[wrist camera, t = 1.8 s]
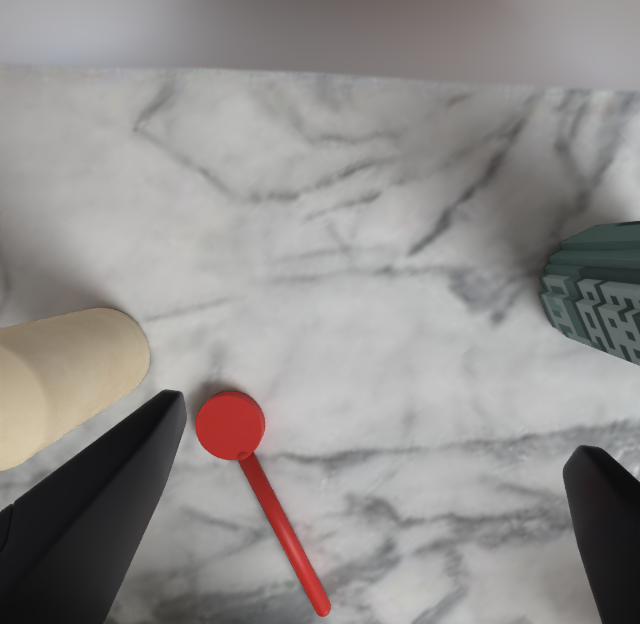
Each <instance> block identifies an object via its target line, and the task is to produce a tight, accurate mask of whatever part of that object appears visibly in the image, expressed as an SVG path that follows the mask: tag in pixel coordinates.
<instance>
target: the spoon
mask: <svg viewBox="0 0 640 624" xmlns="http://www.w3.org/2000/svg"><path fill="white" fill-rule="evenodd" d="M195 427H196V434H197V437H198V439H199V441H200V443H201V445H202V446H203V447H204V448H205V449H206V450H207V451H208V452H209V453H211V454H212V455H214V456H216V457H218V458H221V459H226V460H236V459H237V460H238V462H239V464H240V466H241V468H242V470H243V472H244V473H245V475H246V477H247V479H248V481H249V483H250V485H251V487H252V489H253V491H254V493H255V495H256V497H257V499H258V501H259V503H260V505H261V506H262V508H263V510H264V512H265V514H266V516H267V518H268V520H269V522H270V524H271V526H272V528H273V530H274V532H275V534H276V536H277V537H278V539H279V541H280V543H281V545H282V547H283V549H284V551H285V553H286V555H287V557H288V559H289V561H290V563H291V565H292V567H293V568H294V570H295V572H296V574H297V576H298V578H299V580H300V582H301V584H302V586H303V588H304V590H305V592H306V594H307V596H308V598H309V599H310V601H311V603H312V605H313V607H314V609H315V611H316V613H317V614H318V615H319V616H321V617H325V616H327V615H328V614H329V612H330V609H331V604H330V602H329V600H328V598H327V596H326V594H325V592H324V590H323V588H322V586H321V584H320V582H319V580H318V578H317V576H316V574H315V572H314V570H313V568H312V566H311V564H310V562H309V560H308V558H307V556H306V554H305V553H304V551H303V549H302V547H301V545H300V543H299V541H298V539H297V537H296V535H295V533H294V531H293V529H292V527H291V525H290V523H289V521H288V519H287V517H286V515H285V513H284V511H283V509H282V507H281V505H280V503H279V502H278V500H277V498H276V496H275V494H274V492H273V490H272V488H271V486H270V484H269V482H268V480H267V478H266V476H265V474H264V472H263V470H262V468H261V466H260V464H259V462H258V460H257V458H256V456H255V454H254V452H253V451H254V450H255V449H256V448H257V447H258V445H259V443H260V441H261V439H262V437H263V434H264V431H265V418H264V415H263V412H262V410H261V408H260V406H259V405H258V404H257V403H256V402H255V401H254V400H253V399H252V398H251V397H249V396H247V395H246V394H243V393H240V392H236V391H225V392H221V393H218V394H216V395H214V396H212V397H211V398H210V399H209V400H208V401H207V402H206V403H205V404H204V405H203V406H202V407H201V409H200V410H199V412H198V414H197V418H196V423H195Z"/></svg>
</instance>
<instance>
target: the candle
mask: <svg viewBox="0 0 640 624" xmlns="http://www.w3.org/2000/svg"><path fill="white" fill-rule="evenodd" d="M149 363H150V349H149V344H148V341H147V338H146V336H145V334H144V332H143V331H142V329H141V328H140V326H139V325H138V324H137V323H136V322H135V321H134V320H133V319H131V318H130V317H129V316H127V315H126V314H124V313H122V312H120V311H117V310H114V309H109V308H92V309H86V310H81V311H77V312H72V313H68V314H63V315H59V316H54V317H50V318H46V319H41V320H37V321H32V322H28V323H23V324H19V325H14V326H10V327H6V328H1V329H0V471H3V470H7V469H10V468H13V467H15V466H17V465H19V464H21V463H23V462H24V461H26V460H27V459H29V458H30V457H32V456H33V455H35V454H36V453H38V452H39V451H41V450H42V449H44V448H46V447H47V446H49V445H50V444H52V443H53V442H55V441H56V440H58V439H59V438H61V437H62V436H64V435H65V434H67V433H69V432H70V431H72V430H73V429H75V428H76V427H78V426H79V425H81V424H82V423H84V422H85V421H87V420H88V419H90V418H91V417H93V416H95V415H96V414H98V413H99V412H101V411H102V410H104V409H105V408H107V407H108V406H110V405H111V404H113V403H114V402H116V401H117V400H119V399H121V398H122V397H124V396H125V395H126V394H128V393H129V392H131V391H132V390H134V389H135V388H136V387H137V386H138V385H139V384H140V382H141V381H142V380H143V378H144V377H145V375H146V373H147V371H148V367H149Z"/></svg>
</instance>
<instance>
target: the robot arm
mask: <svg viewBox="0 0 640 624" xmlns="http://www.w3.org/2000/svg"><path fill="white" fill-rule="evenodd" d="M186 420H187V413H186V408H185V402H184V396H183V394H182V392H180V391H175V390H163V391H161V392H160V393H158V394H157V395H156V396H154V397H153V398H152V399H150V400H149V401H148V402H146V403H145V404H144V405H142V406H141V407H140V408H138V409H137V410H136V411H134V412H133V413H132V414H130V415H129V416H128V417H126V418H125V419H124V420H122V421H121V422H120V423H118V424H117V425H116V426H114V427H113V428H112V429H110V430H109V431H108V432H106V433H105V434H104V435H102V436H101V437H100V438H98V439H97V440H96V441H94V442H93V443H92V444H90V445H89V446H88V447H86V448H85V449H84V450H82V451H81V452H80V453H78V454H77V455H76V456H74V457H73V458H72V459H70V460H69V461H68V462H66V463H65V464H64V465H62V466H61V467H60V468H58V469H57V470H56V471H54V472H53V473H52V474H50V475H49V476H48V477H46V478H45V479H44V480H42V481H41V482H40V483H38V484H37V485H36V486H34V487H33V488H32V489H30V490H29V491H28V492H26V493H25V494H24V495H22V496H21V497H20V498H18V499H17V500H16V501H15V502H14V505H13V504H10V505H9V506H7V507H6V508H5V509H3V510H2V511H1V512H0V624H103V623H104V621H105V619H106V616H107V614H108V612H109V610H110V608H111V605H112V603H113V601H114V599H115V597H116V594H117V592H118V590H119V588H120V585H121V583H122V581H123V579H124V577H125V574H126V572H127V570H128V568H129V566H130V563H131V561H132V559H133V557H134V555H135V552H136V550H137V548H138V546H139V544H140V541H141V539H142V537H143V535H144V532H145V530H146V528H147V526H148V524H149V521H150V519H151V517H152V515H153V513H154V510H155V508H156V506H157V504H158V502H159V499H160V497H161V495H162V492H163V490H164V488H165V485H166V482H167V479H168V477H169V474H170V470H171V467H172V464H173V461H174V458H175V455H176V452H177V449H178V446H179V443H180V440H181V437H182V434H183V431H184V428H185V425H186ZM563 479H564V484H565V489H566V493H567V498H568V503H569V508H570V513H571V517H572V522H573V527H574V532H575V536H576V540H577V544H578V548H579V552H580V555H581V558H582V562H583V565H584V568H585V571H586V574H587V577H588V580H589V583H590V587H591V590H592V593H593V596H594V599H595V602H596V605H597V609H598V612H599V615H600V618H601V621H602V624H640V482H639V481H638V480H637V479H636V478H635V477H634V476H632V475H631V474H630V473H629V472H628V471H627V470H626V469H625V468H624V467H622V466H621V465H620V464H619V463H618V462H617V461H616V460H615V459H614V458H612V457H611V456H610V455H609V454H608V453H607V452H606V451H604V450H603V449H602V448H599V447H594V446H587V445H581V446H579V447H577V449H576V450H575V451H574V453H573V454H572V456H571V457H570V458H569V460H568V461H567V463H566V464H565V466H564V469H563Z"/></svg>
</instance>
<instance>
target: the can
mask: <svg viewBox="0 0 640 624" xmlns="http://www.w3.org/2000/svg"><path fill="white" fill-rule="evenodd" d="M559 244H560V246H561V248H562V250H561V251H559V252H557V253H555V254H553V255H551V256H549V257H548V259H549V261H550V263H551V264H549V265H547V266H545V267H544V270H545V272H546V274H545V275H543V276H541V277H539V278H540V280H541V282H542V285H543V287H544V289H545V291H544V292H541V293H539V294H538V295H539V297H540V299H541V302H542V304H543V306H544V308H545V310H546V313H547V315H548V317H549V319H550V322H551V324H552V326H553V327H555V328H557V329H560V330H563V332H564V334H565V336H566V337H568V338H571V339H573V340H576V341H578V342H581V343H583V344H586V345H589V346H591V347H594V348H596V349H599V350H601V351H604V352H606V353H609V354H612V355H614V356H617V357H619V358H622V359H624V360H627V361H629V362H632V363H635V364H637V365H640V221H634V222H624V223H614V224H605V225H596V226H594V227H592V228H590V229H588V230H586V231H584V232H582V233H579V234H577V235H575V236H573V237H571V238H569V239H567V240H565V241H563V242H561V243H559Z"/></svg>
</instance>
